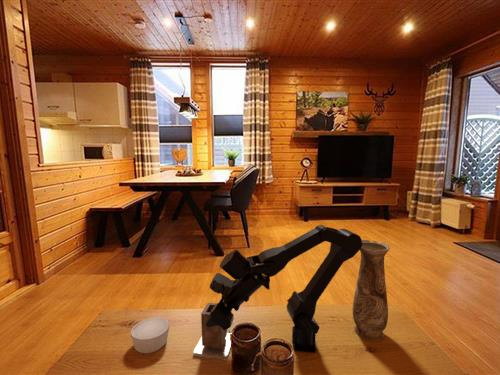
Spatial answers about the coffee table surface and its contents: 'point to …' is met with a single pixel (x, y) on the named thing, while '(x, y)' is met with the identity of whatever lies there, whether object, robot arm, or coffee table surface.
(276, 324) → the coffee table surface
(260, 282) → the robot arm
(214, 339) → the square pencil cup
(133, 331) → the ramekin
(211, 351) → the glossy square coaster
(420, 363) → the coffee table surface
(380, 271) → the vase
